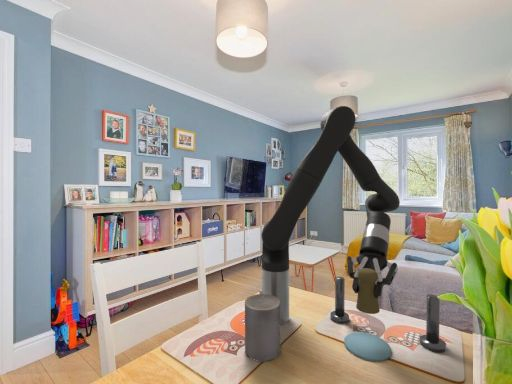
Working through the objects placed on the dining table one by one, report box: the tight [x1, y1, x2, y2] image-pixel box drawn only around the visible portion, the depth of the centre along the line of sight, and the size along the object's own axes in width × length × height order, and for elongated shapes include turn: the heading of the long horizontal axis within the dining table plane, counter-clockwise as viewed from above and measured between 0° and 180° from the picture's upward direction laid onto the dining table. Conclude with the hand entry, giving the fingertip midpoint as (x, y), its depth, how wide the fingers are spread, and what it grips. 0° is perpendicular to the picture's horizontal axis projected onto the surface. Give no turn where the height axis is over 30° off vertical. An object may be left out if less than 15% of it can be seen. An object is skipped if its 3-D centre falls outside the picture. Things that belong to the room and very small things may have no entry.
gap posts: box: [330, 276, 447, 354], centre depth 81 cm, size 32×6×14 cm, turn 55°
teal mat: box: [343, 331, 392, 362], centre depth 73 cm, size 12×12×1 cm
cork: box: [355, 268, 381, 315], centre depth 73 cm, size 6×6×11 cm
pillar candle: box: [244, 294, 281, 363], centre depth 71 cm, size 10×10×15 cm
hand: (366, 294), depth 71 cm, fingers closed on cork, 4 cm apart
